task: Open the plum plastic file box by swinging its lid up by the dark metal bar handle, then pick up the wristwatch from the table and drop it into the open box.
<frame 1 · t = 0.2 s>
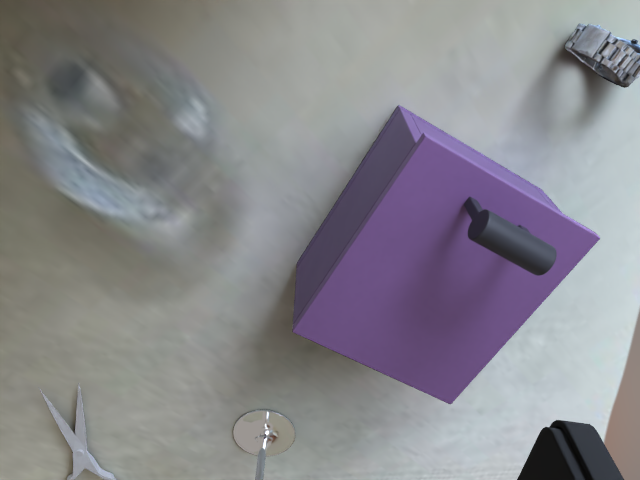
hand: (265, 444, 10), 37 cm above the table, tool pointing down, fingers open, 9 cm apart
scissors: (86, 451, 61), on the table
lid: (444, 302, 38), point 12 cm above the table, hinge at 0.0°
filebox: (415, 227, 49), on the table
wineglass: (264, 430, 60), on the table
wristwatch: (597, 46, 42), on the table
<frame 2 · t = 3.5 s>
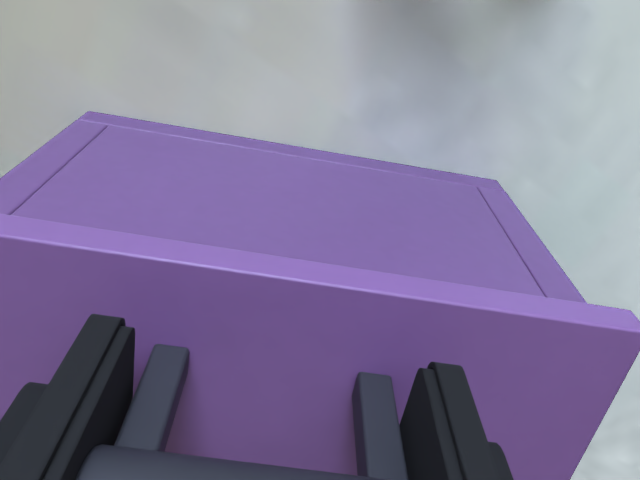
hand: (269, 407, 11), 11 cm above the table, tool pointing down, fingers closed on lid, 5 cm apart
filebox: (266, 335, 23), on the table
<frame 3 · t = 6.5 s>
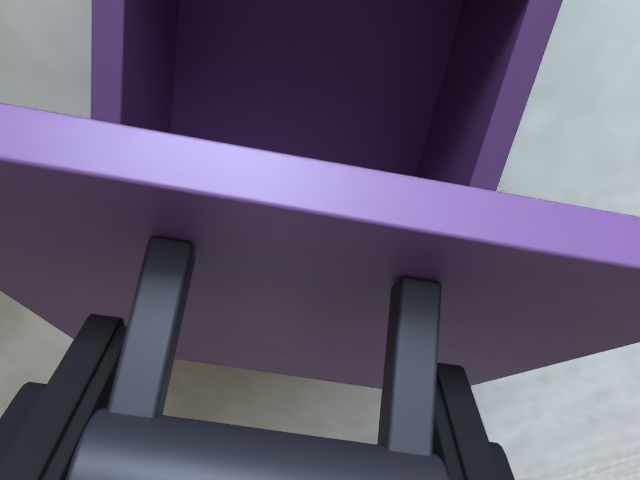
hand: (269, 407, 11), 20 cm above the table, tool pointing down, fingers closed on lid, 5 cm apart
lid: (262, 407, 15), point 17 cm above the table, hinge at 42.8°, touching gripper
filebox: (303, 106, 28), on the table
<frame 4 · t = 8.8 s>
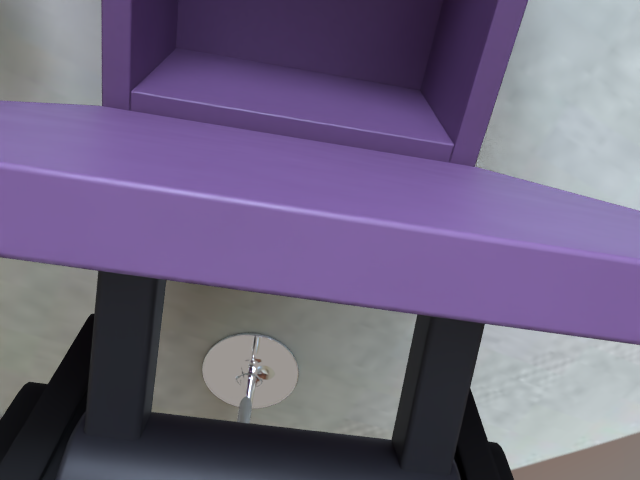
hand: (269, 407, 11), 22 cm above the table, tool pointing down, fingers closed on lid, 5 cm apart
lid: (282, 266, 14), point 18 cm above the table, hinge at 73.0°, touching gripper
wineglass: (250, 368, 39), on the table
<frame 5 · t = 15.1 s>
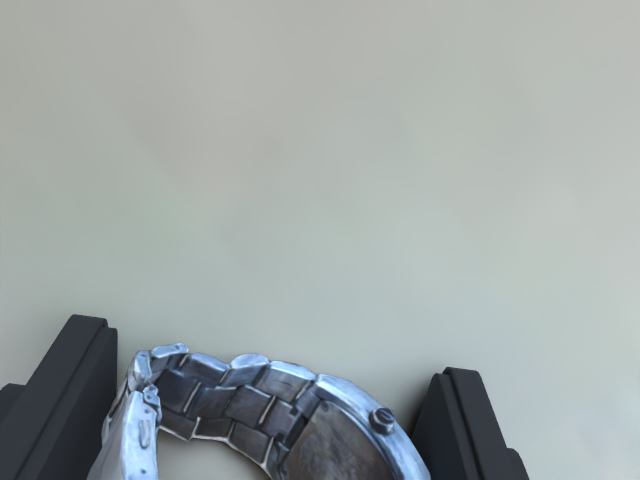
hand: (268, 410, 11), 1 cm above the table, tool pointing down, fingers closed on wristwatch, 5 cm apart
wristwatch: (278, 385, 11), on the table, touching gripper
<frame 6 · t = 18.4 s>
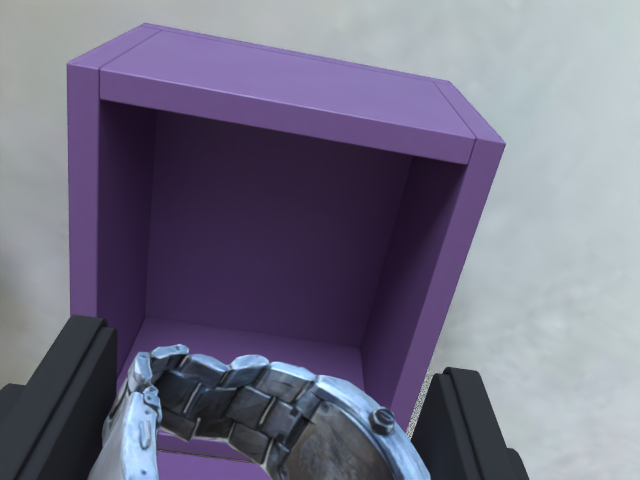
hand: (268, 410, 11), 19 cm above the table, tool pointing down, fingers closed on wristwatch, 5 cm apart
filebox: (274, 211, 30), on the table
wristwatch: (278, 385, 11), point 18 cm above the table, touching gripper
when the fingers open (7 cm above the table, at t = 21.9 s): wristwatch drops 6 cm, resting on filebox.
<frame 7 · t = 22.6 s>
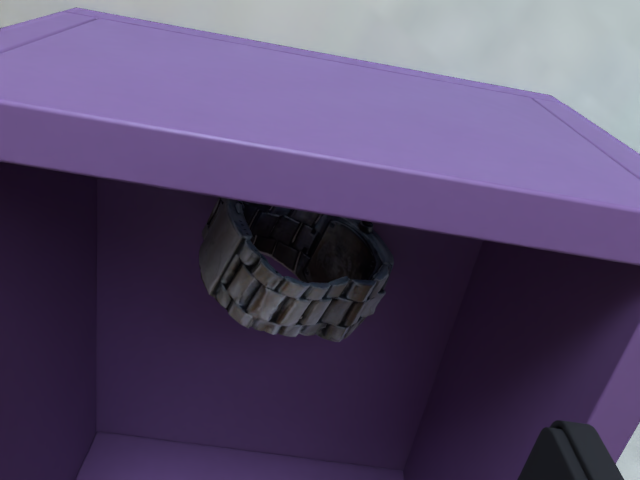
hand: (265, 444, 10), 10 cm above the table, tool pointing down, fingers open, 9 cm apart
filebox: (281, 285, 20), on the table
wristwatch: (303, 221, 18), point 1 cm above the table, touching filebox
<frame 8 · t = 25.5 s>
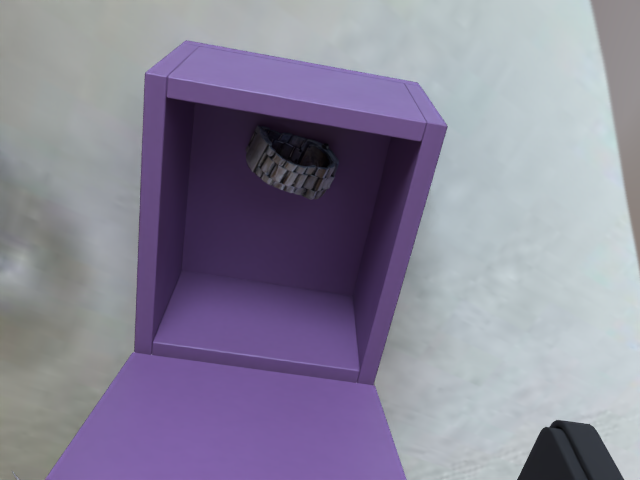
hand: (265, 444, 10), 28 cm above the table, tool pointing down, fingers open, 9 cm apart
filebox: (284, 185, 38), on the table
wristwatch: (295, 146, 36), point 1 cm above the table, touching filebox
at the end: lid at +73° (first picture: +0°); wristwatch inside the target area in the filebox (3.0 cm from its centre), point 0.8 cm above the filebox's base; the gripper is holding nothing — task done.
